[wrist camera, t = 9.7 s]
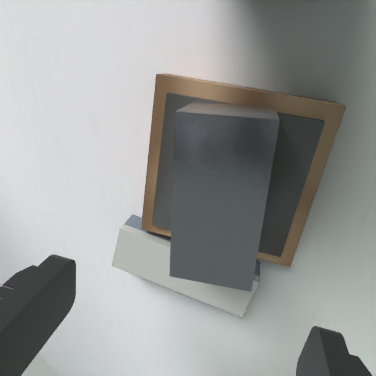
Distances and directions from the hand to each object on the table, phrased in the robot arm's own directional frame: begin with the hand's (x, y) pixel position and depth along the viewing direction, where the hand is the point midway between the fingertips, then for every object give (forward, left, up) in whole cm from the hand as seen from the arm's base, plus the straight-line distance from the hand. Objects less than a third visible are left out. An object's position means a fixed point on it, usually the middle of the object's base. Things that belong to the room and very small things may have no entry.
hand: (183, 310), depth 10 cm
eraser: (-2, -9, -15) cm, 18 cm away
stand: (0, 0, -15) cm, 15 cm away
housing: (0, 0, -12) cm, 12 cm away
